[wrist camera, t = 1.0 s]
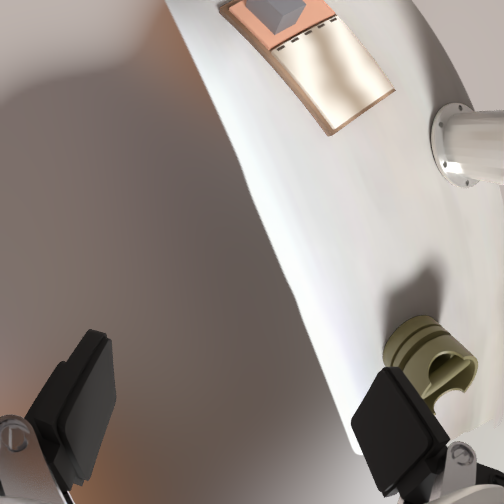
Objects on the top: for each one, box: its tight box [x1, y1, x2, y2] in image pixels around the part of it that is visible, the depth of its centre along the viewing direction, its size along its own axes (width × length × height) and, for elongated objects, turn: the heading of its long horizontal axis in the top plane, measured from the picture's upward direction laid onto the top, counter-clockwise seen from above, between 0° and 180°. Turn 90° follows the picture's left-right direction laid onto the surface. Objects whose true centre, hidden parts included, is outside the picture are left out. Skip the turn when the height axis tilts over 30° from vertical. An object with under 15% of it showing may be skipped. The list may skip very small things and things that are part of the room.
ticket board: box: [220, 0, 396, 136], centre depth 26 cm, size 11×20×2 cm, turn 38°
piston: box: [383, 315, 478, 415], centre depth 36 cm, size 11×12×11 cm
